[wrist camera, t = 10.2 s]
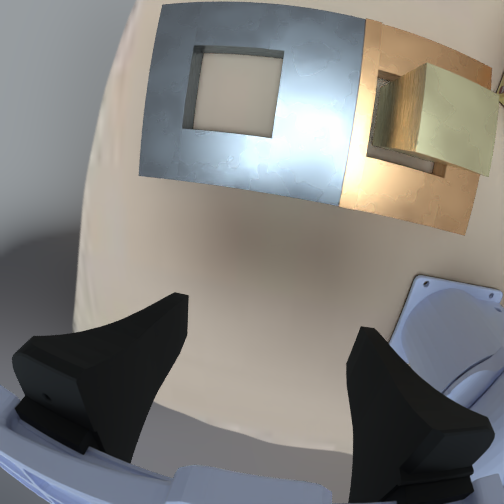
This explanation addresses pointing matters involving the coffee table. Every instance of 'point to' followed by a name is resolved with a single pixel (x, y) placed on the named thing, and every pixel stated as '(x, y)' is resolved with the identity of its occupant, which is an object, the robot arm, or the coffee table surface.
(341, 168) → the peg hole board
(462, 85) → the brass peg
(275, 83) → the coffee table surface
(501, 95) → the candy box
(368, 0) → the coffee table surface
